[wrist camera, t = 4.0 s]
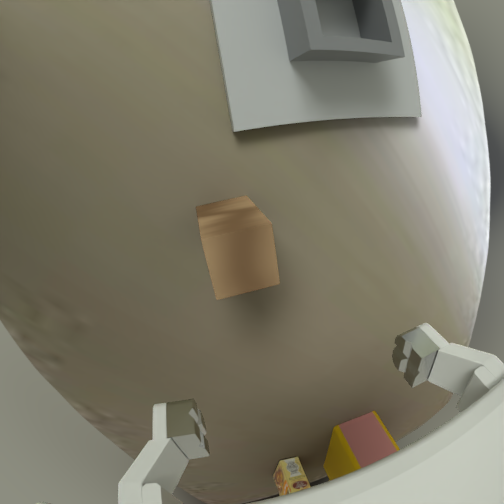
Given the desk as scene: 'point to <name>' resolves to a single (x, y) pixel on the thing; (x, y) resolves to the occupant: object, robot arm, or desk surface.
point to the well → (314, 60)
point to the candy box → (290, 476)
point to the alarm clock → (358, 445)
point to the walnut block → (237, 246)
